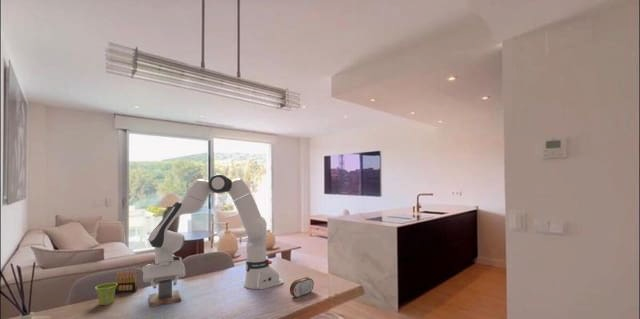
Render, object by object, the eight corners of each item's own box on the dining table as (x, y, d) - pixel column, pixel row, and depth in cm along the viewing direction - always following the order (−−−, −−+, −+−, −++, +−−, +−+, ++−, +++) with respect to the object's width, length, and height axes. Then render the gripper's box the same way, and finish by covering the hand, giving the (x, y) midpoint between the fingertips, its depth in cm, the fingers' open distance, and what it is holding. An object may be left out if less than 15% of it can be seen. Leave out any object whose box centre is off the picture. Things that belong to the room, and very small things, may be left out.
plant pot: (92, 303, 163) (93, 286, 164) (114, 298, 170) (114, 281, 171) (97, 308, 157) (98, 290, 158) (119, 302, 164) (120, 285, 164)
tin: (310, 290, 179) (310, 275, 179) (314, 292, 176) (314, 276, 177) (289, 298, 168) (289, 281, 168) (293, 299, 166) (293, 283, 166)
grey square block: (170, 293, 172) (171, 279, 173) (171, 297, 167) (171, 282, 167) (158, 295, 169) (158, 280, 170) (158, 299, 164) (158, 284, 164)
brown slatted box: (136, 290, 182) (137, 268, 182) (135, 291, 180) (135, 269, 180) (116, 291, 180) (116, 269, 181) (114, 293, 178) (115, 270, 179)
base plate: (178, 292, 177) (178, 289, 178) (180, 301, 165) (180, 298, 165) (149, 297, 171) (149, 294, 171) (149, 306, 158) (149, 303, 159)
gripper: (142, 262, 170) (142, 286, 161) (184, 256, 180) (186, 279, 171) (142, 268, 174) (141, 293, 165) (183, 263, 183) (185, 285, 174)
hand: (165, 286), depth 168 cm, fingers open, 8 cm apart
